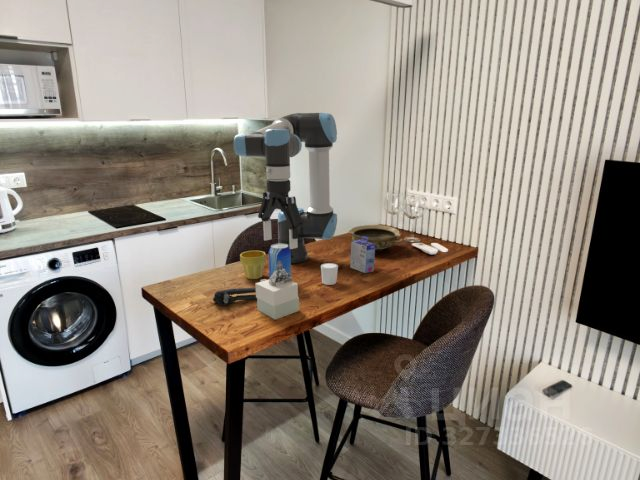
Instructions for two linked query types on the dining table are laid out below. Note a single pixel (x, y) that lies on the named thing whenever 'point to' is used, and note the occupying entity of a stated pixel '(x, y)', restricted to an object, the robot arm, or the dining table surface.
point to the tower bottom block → (278, 308)
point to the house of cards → (279, 276)
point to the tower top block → (276, 292)
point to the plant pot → (253, 263)
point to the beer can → (279, 258)
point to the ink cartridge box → (362, 255)
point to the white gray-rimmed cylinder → (329, 273)
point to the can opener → (226, 299)
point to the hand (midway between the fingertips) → (280, 243)
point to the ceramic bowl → (376, 235)
